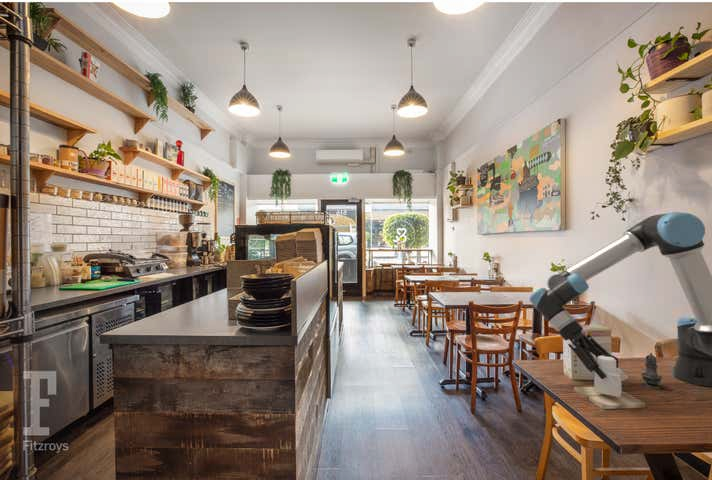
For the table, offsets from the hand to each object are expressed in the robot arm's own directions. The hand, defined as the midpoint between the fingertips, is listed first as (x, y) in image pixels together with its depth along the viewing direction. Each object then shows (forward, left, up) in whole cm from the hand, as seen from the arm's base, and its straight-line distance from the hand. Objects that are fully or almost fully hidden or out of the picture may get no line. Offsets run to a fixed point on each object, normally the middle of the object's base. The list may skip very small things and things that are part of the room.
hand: (619, 383), depth 118 cm
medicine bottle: (+2, -3, -4) cm, 5 cm away
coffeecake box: (-4, -22, -6) cm, 23 cm away
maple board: (+2, -3, -6) cm, 7 cm away
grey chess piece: (-21, -12, -6) cm, 25 cm away
